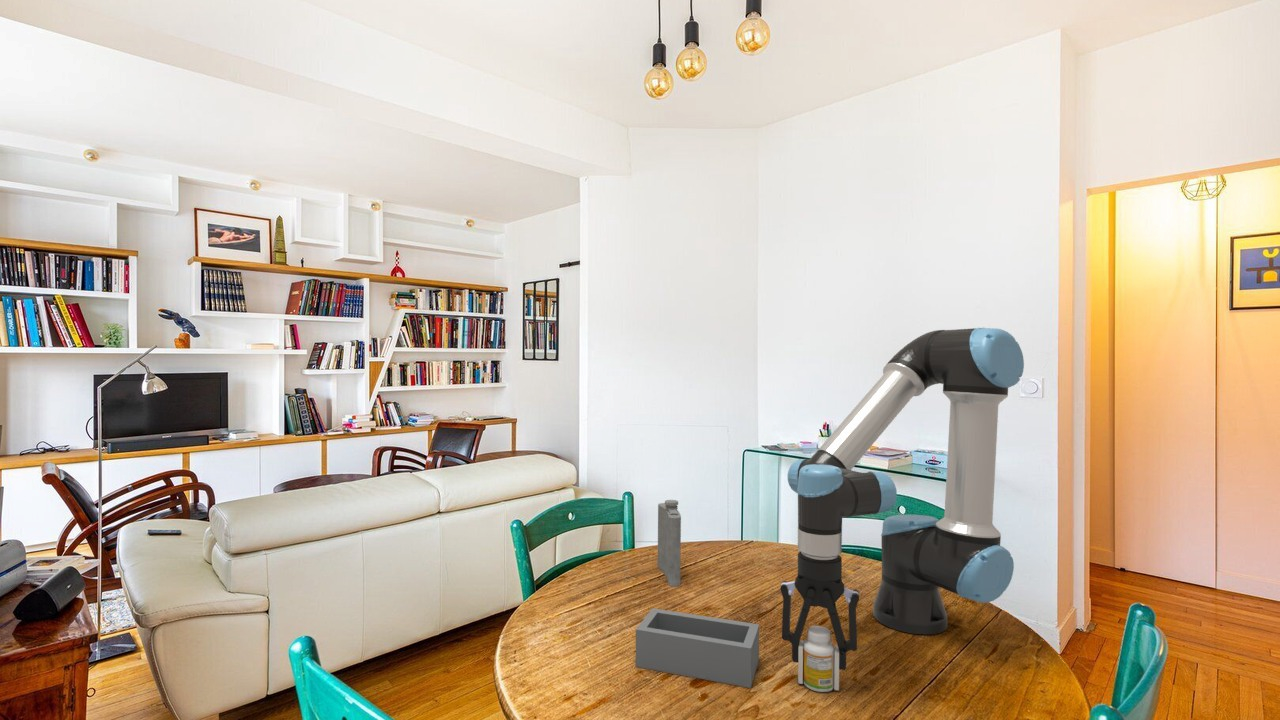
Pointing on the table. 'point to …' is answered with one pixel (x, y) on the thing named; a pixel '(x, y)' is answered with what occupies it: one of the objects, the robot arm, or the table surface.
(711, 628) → the tray
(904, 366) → the robot arm
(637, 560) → the table surface
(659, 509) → the hip flask
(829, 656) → the supplement bottle
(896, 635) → the table surface
